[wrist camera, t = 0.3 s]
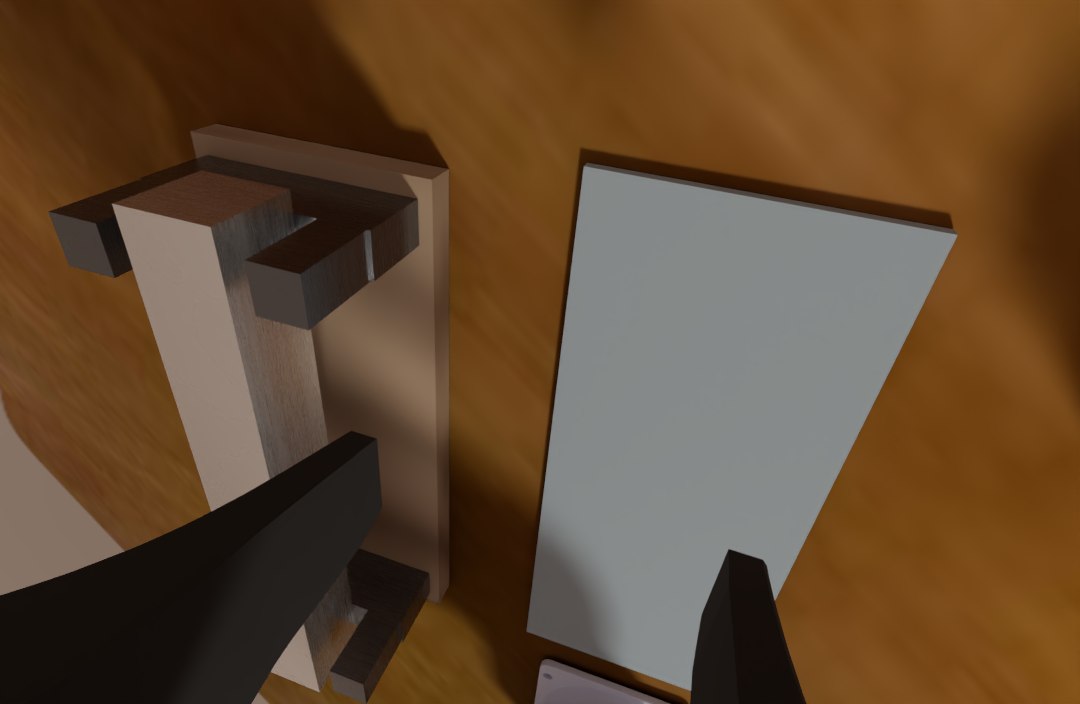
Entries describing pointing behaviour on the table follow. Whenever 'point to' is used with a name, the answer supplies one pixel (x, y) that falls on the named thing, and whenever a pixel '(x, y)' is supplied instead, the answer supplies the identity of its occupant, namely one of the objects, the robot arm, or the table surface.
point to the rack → (345, 342)
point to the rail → (234, 360)
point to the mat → (706, 397)
